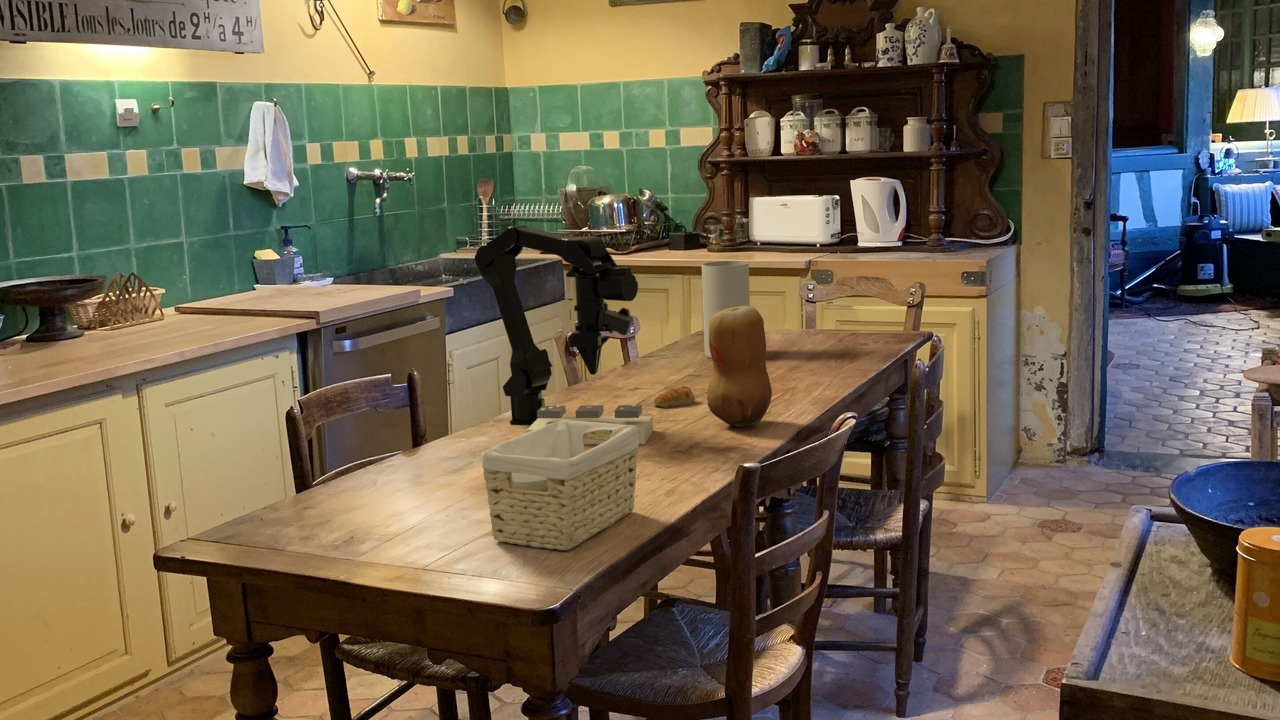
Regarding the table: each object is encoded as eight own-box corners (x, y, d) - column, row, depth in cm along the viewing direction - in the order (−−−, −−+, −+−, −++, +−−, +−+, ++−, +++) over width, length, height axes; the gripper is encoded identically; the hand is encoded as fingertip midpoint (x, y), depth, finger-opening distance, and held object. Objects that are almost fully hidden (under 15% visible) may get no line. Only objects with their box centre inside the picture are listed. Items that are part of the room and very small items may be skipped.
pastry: (666, 411, 270) (665, 394, 269) (647, 406, 275) (646, 390, 274) (697, 403, 276) (697, 387, 275) (678, 399, 281) (677, 383, 280)
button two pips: (614, 418, 245) (614, 409, 245) (619, 412, 249) (618, 404, 249) (638, 417, 244) (637, 409, 244) (642, 412, 249) (641, 404, 248)
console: (527, 444, 246) (526, 429, 245) (540, 430, 256) (539, 416, 256) (644, 444, 242) (644, 429, 241) (653, 430, 252) (652, 416, 252)
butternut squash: (697, 423, 256) (693, 306, 252) (753, 415, 261) (750, 299, 257) (728, 437, 244) (724, 314, 239) (786, 428, 249) (783, 307, 244)
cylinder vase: (753, 359, 323) (750, 265, 318) (705, 361, 323) (702, 267, 318) (749, 350, 335) (746, 259, 330) (703, 352, 335) (700, 261, 330)
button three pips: (537, 418, 248) (536, 410, 247) (543, 412, 252) (542, 404, 252) (560, 418, 247) (560, 410, 246) (565, 412, 251) (565, 404, 251)
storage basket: (562, 500, 208) (557, 416, 205) (647, 510, 201) (643, 423, 198) (482, 545, 187) (475, 452, 184) (573, 558, 180) (567, 461, 177)
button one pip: (575, 418, 246) (575, 409, 246) (580, 412, 251) (580, 404, 251) (599, 418, 245) (598, 409, 245) (603, 412, 250) (603, 404, 250)
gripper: (620, 305, 239) (624, 383, 242) (636, 291, 257) (639, 364, 260) (565, 306, 241) (569, 383, 244) (584, 293, 259) (588, 364, 262)
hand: (593, 373), depth 253 cm, fingers closed
